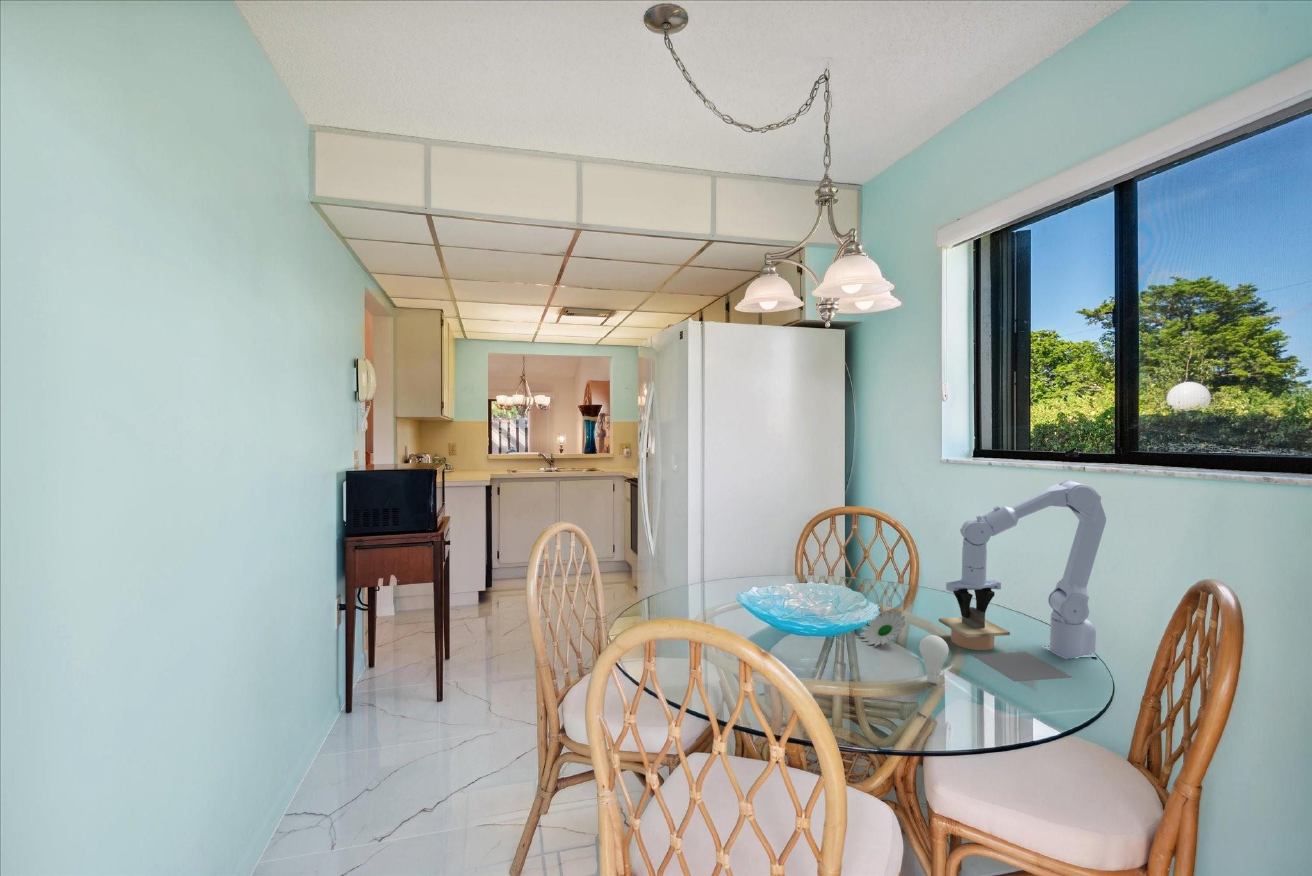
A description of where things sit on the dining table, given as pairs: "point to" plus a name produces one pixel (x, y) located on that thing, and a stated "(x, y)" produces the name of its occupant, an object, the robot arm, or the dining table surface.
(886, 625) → the flower
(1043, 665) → the mat
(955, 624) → the lid
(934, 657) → the lightbulb
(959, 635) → the bowl
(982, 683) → the dining table surface
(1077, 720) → the dining table surface
